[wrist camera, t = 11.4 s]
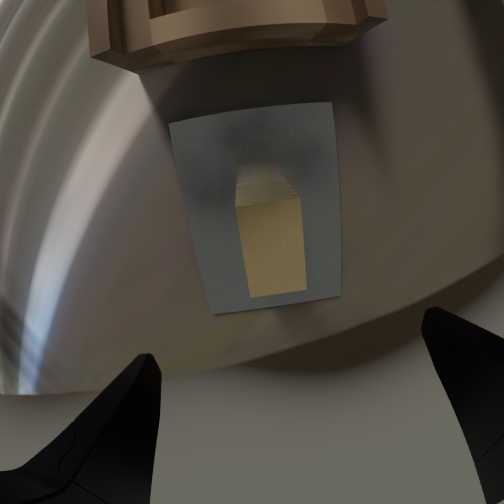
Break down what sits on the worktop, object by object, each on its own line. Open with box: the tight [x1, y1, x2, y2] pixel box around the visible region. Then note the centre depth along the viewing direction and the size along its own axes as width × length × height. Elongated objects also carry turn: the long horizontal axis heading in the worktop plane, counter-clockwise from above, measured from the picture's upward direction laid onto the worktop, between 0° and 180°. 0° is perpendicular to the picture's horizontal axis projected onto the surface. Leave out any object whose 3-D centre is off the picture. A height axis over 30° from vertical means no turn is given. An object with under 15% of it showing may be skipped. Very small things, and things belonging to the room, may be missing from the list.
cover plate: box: [168, 102, 341, 314], centre depth 17 cm, size 10×14×6 cm
